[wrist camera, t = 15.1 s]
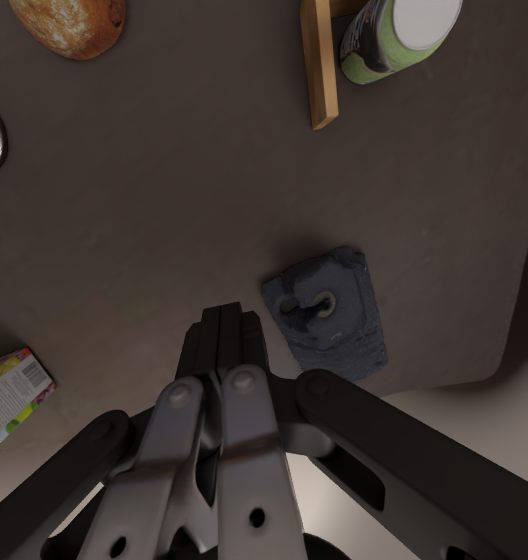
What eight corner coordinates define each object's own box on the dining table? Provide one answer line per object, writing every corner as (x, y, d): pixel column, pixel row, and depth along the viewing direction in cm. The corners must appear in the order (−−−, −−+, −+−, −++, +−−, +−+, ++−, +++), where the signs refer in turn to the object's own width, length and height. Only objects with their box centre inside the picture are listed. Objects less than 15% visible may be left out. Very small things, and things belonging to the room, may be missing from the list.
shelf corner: (406, 111, 31) (443, 93, 25) (310, 130, 31) (324, 117, 25) (405, -16, 27) (448, -73, 21) (295, 7, 27) (308, -43, 21)
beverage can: (388, 13, 28) (483, -105, 17) (392, 93, 30) (477, 38, 19) (330, 28, 28) (385, -80, 17) (338, 106, 31) (391, 59, 19)
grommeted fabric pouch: (302, 393, 44) (308, 416, 40) (255, 276, 37) (256, 289, 32) (391, 363, 43) (407, 383, 38) (360, 237, 36) (376, 245, 31)
